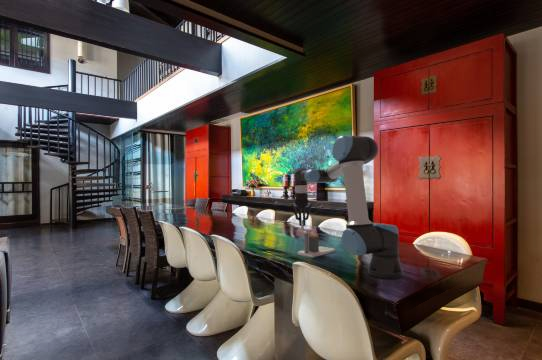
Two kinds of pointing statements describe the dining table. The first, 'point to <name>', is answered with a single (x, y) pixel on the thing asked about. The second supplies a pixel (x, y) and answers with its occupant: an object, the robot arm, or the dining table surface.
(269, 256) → the dining table surface
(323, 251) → the base plate with post
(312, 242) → the orange and black block
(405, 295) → the dining table surface
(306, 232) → the bar
